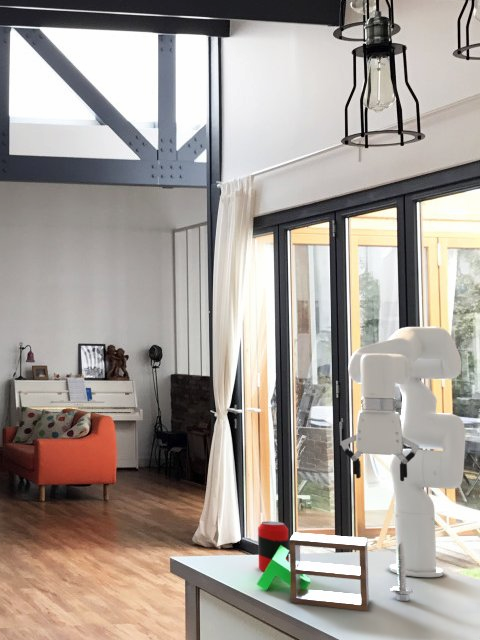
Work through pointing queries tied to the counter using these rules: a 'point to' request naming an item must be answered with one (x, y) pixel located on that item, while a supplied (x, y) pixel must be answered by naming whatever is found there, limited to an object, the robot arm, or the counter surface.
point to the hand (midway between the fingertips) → (380, 479)
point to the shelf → (328, 572)
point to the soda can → (271, 541)
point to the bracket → (280, 570)
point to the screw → (401, 577)
